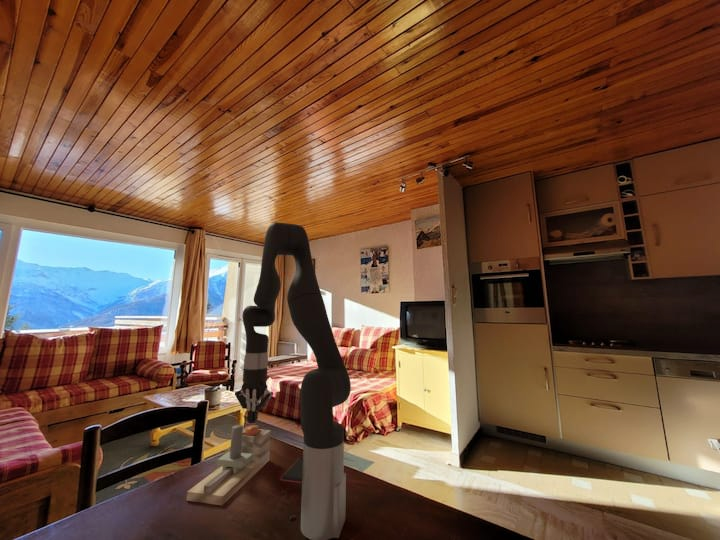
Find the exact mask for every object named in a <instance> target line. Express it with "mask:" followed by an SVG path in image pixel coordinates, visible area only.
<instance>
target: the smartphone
mask: <svg viewBox="0 0 720 540" xmlns="http://www.w3.org/2000/svg"><path fill="white" fill-rule="evenodd" d="M302 472H303V456H300V457H298V458H297V459H296V461H294V463H293V464H292V465H291V466H290V467H289V468H288V470H286V472H285V473H284V474H283V475H282V476H281V477H280V479H279V480H280V481H282V482H289V483H290V482H291V483H298V484H302Z"/></svg>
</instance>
